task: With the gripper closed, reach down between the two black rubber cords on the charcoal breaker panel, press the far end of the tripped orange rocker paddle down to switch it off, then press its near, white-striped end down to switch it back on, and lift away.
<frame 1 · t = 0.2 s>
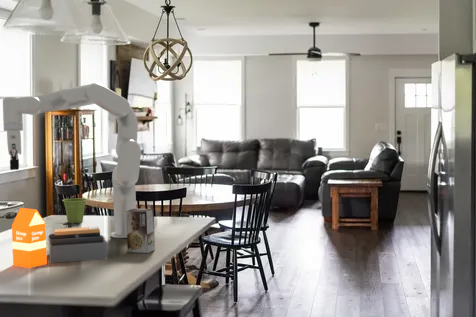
hand: (14, 168, 271), 31 cm above the kitchen island, fingers open, 9 cm apart
breaker panel: (77, 256, 246), on the kitchen island
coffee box: (141, 251, 254), on the kitchen island
orange juice: (30, 265, 233), on the kitchen island
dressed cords: (77, 237, 246), point 6 cm above the kitchen island
plant pot: (75, 222, 326), on the kitchen island
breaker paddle: (76, 230, 245), point 10 cm above the kitchen island, hinge at 0.0°
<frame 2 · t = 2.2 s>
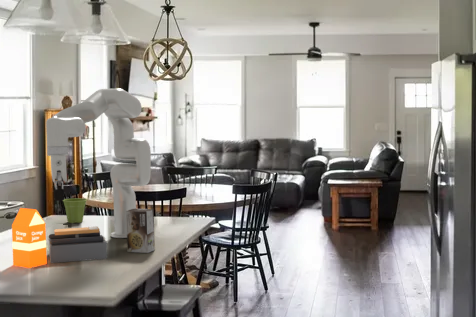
hand: (59, 198, 243), 22 cm above the kitchen island, fingers open, 7 cm apart
nothing on the kitchen island moved.
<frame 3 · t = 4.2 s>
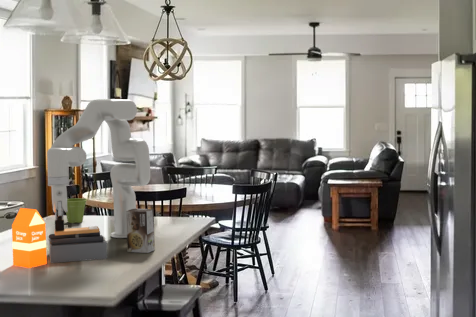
hand: (59, 230, 243), 10 cm above the kitchen island, fingers closed
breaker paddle: (76, 230, 245), point 10 cm above the kitchen island, hinge at 0.6°, touching gripper
everything else where it was.
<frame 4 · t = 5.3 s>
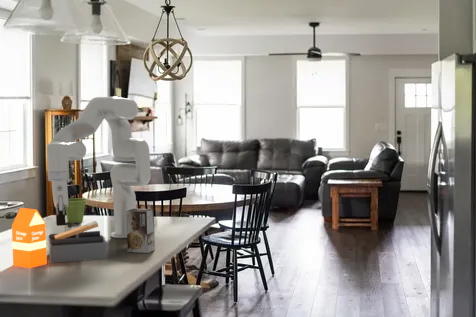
hand: (61, 225, 244), 12 cm above the kitchen island, fingers closed
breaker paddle: (76, 230, 245), point 10 cm above the kitchen island, hinge at 16.1°
everything else where it was.
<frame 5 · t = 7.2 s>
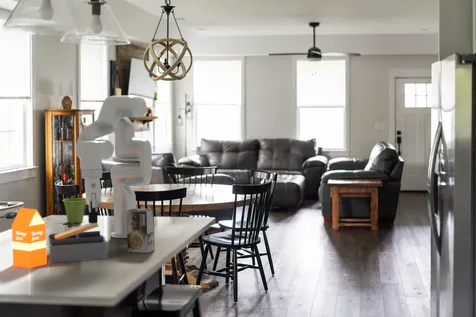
hand: (93, 222, 247), 12 cm above the kitchen island, fingers closed
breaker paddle: (76, 230, 245), point 10 cm above the kitchen island, hinge at 16.0°, touching gripper
everything else where it was.
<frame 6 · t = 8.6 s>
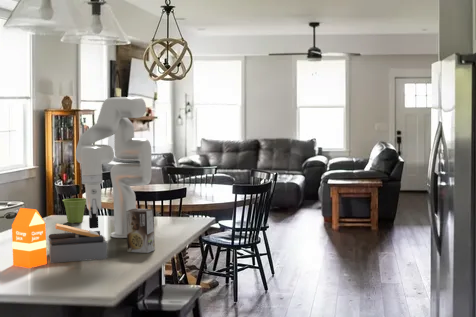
hand: (93, 227, 248), 10 cm above the kitchen island, fingers closed
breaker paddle: (77, 230, 246), point 10 cm above the kitchen island, hinge at -17.0°
everything else where it was.
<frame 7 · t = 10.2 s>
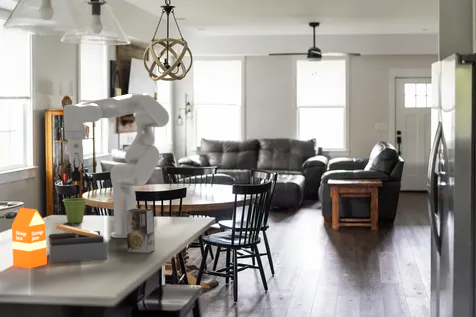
hand: (76, 181, 264), 26 cm above the kitchen island, fingers closed
nothing on the kitchen island moved.
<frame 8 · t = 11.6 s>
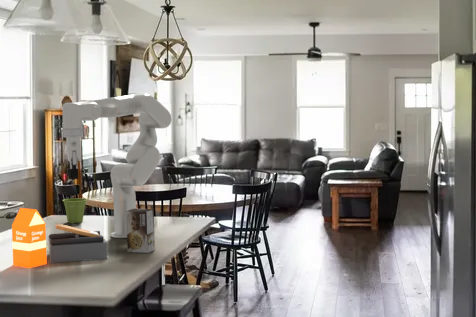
hand: (74, 178, 266), 27 cm above the kitchen island, fingers closed
nothing on the kitchen island moved.
at the end: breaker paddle at -17° (first picture: +0°); orange juice moved 0.2 cm from its start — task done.
